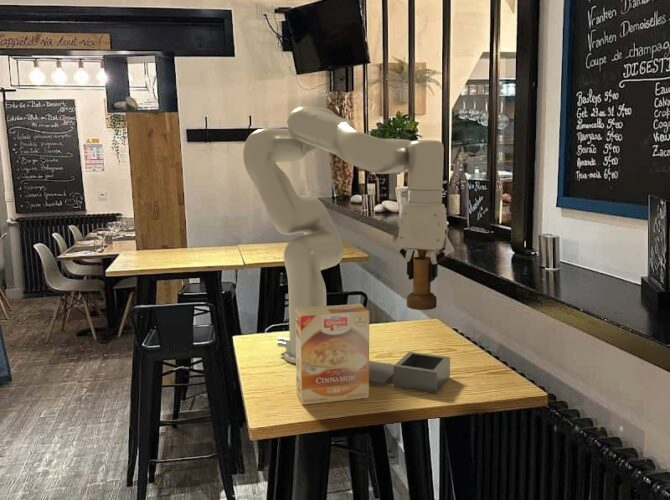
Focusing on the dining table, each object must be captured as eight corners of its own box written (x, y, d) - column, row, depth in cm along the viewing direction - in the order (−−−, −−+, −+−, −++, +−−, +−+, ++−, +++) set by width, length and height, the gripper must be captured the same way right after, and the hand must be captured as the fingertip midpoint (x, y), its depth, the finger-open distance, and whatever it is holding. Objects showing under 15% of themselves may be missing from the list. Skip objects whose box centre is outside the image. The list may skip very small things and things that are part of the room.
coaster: (343, 380, 145) (343, 376, 145) (363, 364, 156) (363, 360, 156) (384, 386, 141) (384, 382, 141) (401, 369, 152) (401, 365, 152)
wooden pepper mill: (413, 311, 137) (414, 229, 134) (402, 304, 143) (402, 226, 140) (441, 308, 139) (442, 228, 136) (429, 302, 145) (430, 224, 142)
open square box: (393, 387, 141) (393, 366, 140) (409, 371, 150) (409, 351, 150) (436, 394, 136) (437, 372, 136) (449, 377, 146) (450, 357, 145)
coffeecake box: (301, 405, 131) (300, 315, 128) (295, 393, 138) (294, 307, 135) (370, 398, 135) (370, 310, 131) (361, 386, 141) (361, 302, 138)
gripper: (382, 197, 137) (380, 279, 140) (457, 200, 130) (454, 286, 133) (394, 194, 143) (392, 272, 147) (466, 198, 136) (462, 280, 140)
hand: (421, 278), depth 140 cm, fingers closed on wooden pepper mill, 3 cm apart
